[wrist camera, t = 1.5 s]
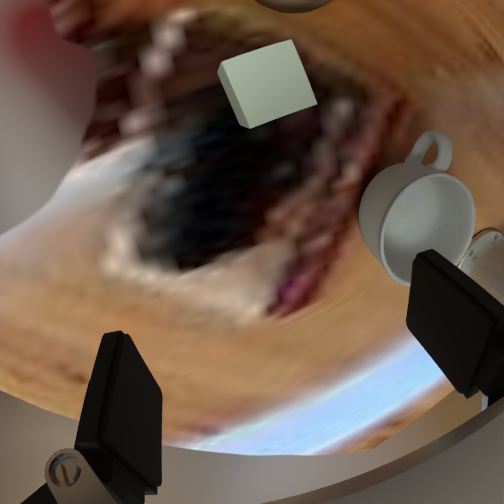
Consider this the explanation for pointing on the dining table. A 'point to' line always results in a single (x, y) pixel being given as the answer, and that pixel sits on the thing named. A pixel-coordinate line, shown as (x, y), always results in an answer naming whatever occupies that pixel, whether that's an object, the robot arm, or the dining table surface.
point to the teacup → (417, 210)
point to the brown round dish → (292, 5)
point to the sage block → (266, 84)
